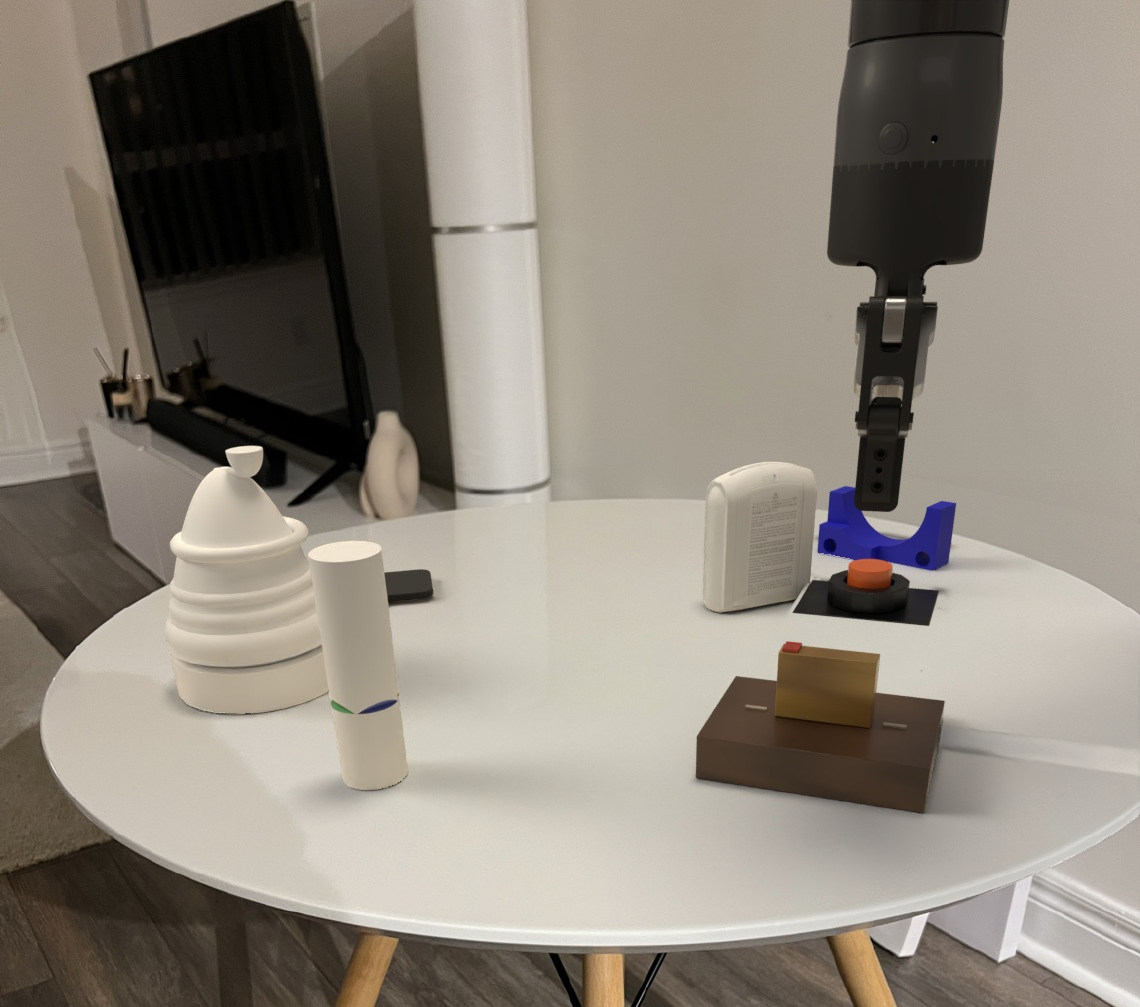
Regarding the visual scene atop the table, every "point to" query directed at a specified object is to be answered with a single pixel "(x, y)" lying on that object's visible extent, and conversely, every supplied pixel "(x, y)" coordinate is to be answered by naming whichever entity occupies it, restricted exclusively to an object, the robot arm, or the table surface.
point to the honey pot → (242, 599)
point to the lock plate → (822, 748)
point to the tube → (359, 662)
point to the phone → (408, 585)
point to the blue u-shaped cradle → (861, 541)
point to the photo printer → (758, 535)
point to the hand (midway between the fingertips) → (878, 490)
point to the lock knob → (826, 684)
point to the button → (869, 573)
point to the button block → (868, 601)
